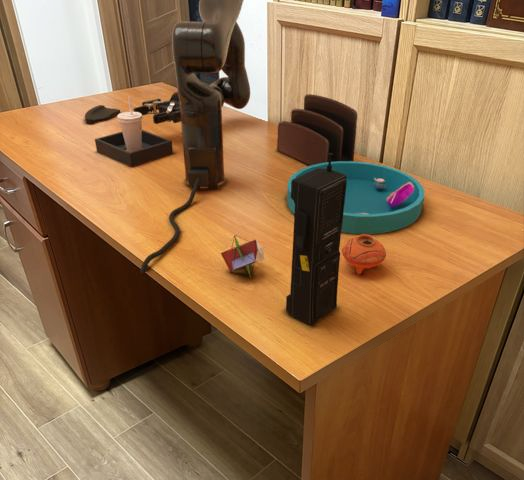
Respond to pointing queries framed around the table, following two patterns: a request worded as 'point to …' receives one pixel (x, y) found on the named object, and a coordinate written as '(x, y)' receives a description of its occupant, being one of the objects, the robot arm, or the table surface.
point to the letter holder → (319, 131)
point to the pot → (363, 252)
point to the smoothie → (131, 128)
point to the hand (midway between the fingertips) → (144, 116)
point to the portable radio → (316, 243)
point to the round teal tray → (373, 197)
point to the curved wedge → (100, 114)
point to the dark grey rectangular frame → (117, 151)
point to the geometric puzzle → (243, 255)
